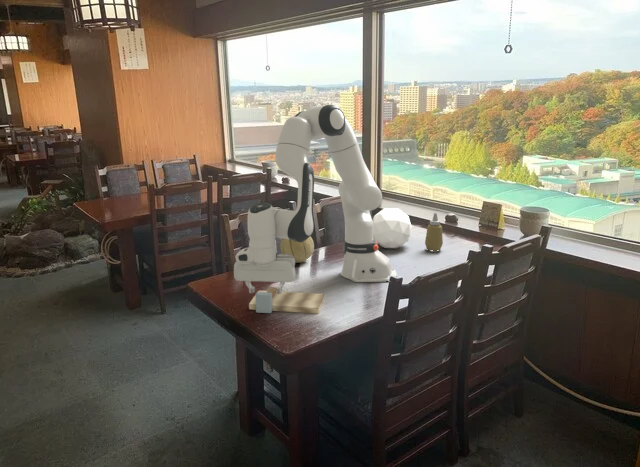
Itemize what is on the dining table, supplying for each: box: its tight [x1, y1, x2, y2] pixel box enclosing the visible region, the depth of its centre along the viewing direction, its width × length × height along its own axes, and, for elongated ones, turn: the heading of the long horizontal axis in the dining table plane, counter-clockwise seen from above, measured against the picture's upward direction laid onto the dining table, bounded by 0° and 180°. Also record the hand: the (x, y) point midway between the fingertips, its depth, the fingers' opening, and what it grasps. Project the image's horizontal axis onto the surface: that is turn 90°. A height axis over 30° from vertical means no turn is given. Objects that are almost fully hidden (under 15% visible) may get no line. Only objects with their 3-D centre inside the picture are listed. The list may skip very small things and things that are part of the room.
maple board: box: [248, 290, 325, 314], centre depth 168 cm, size 24×12×2 cm, turn 81°
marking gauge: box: [254, 286, 278, 314], centre depth 166 cm, size 5×14×6 cm, turn 171°
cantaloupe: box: [279, 235, 315, 264], centre depth 210 cm, size 15×15×15 cm
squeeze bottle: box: [424, 212, 444, 251], centre depth 222 cm, size 8×8×18 cm
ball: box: [372, 207, 413, 249], centre depth 228 cm, size 19×20×20 cm
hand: (266, 292), depth 160 cm, fingers open, 8 cm apart
